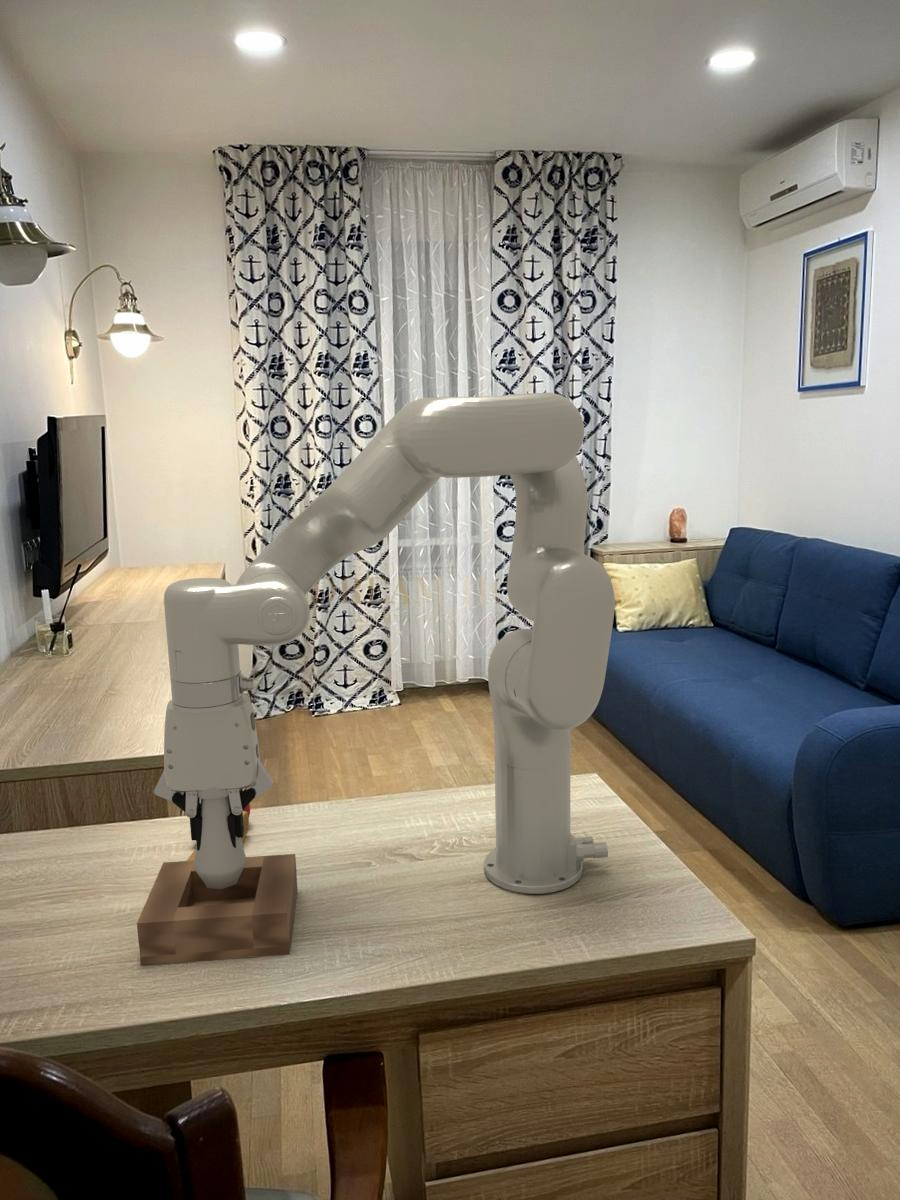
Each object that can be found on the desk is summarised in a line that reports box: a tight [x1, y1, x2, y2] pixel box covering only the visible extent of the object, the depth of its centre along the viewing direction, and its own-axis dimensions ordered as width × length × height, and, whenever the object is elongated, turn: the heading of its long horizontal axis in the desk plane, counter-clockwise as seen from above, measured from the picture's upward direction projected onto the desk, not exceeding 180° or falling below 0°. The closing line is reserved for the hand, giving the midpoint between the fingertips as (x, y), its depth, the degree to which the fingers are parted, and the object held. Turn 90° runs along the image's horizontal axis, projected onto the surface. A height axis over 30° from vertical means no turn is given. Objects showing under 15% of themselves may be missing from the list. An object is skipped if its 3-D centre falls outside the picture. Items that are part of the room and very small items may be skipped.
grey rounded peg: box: [194, 787, 246, 889], centre depth 107 cm, size 6×6×13 cm
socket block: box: [136, 853, 298, 966], centre depth 109 cm, size 16×14×5 cm
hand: (218, 842), depth 107 cm, fingers closed on grey rounded peg, 3 cm apart
